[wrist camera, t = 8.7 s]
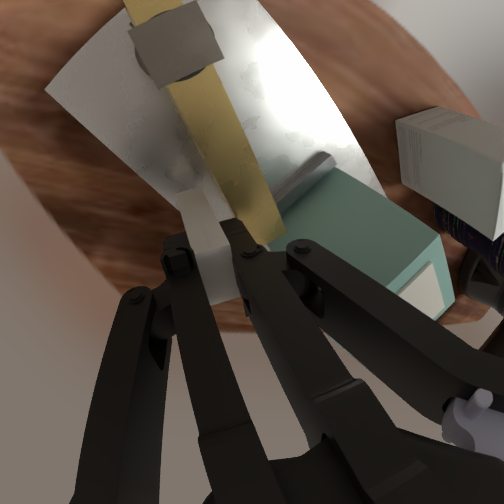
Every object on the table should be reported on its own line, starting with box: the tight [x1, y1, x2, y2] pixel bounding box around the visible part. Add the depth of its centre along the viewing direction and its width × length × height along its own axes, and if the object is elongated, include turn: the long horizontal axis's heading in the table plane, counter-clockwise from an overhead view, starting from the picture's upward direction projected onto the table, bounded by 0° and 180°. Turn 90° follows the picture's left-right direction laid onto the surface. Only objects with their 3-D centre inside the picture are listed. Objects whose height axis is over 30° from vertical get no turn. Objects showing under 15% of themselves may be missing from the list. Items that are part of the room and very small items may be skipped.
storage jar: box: [434, 203, 504, 277], centre depth 28 cm, size 10×10×15 cm
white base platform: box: [45, 0, 387, 251], centre depth 20 cm, size 25×12×6 cm, turn 39°
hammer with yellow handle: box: [123, 0, 287, 246], centre depth 14 cm, size 3×14×5 cm, turn 23°
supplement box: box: [395, 107, 504, 241], centre depth 23 cm, size 7×7×13 cm
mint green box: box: [266, 166, 455, 372], centre depth 19 cm, size 7×7×10 cm
